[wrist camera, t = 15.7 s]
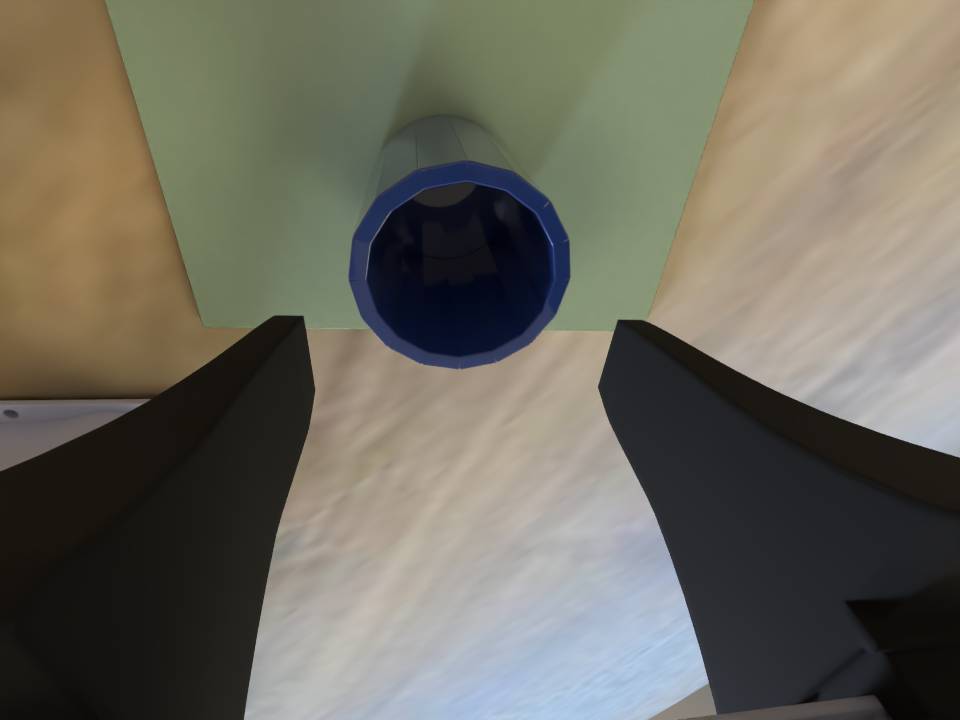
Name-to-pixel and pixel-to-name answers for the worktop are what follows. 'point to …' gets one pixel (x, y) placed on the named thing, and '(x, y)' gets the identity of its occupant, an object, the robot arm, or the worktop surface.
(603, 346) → the worktop surface
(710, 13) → the sage mat
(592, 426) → the worktop surface
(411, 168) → the blue cup
